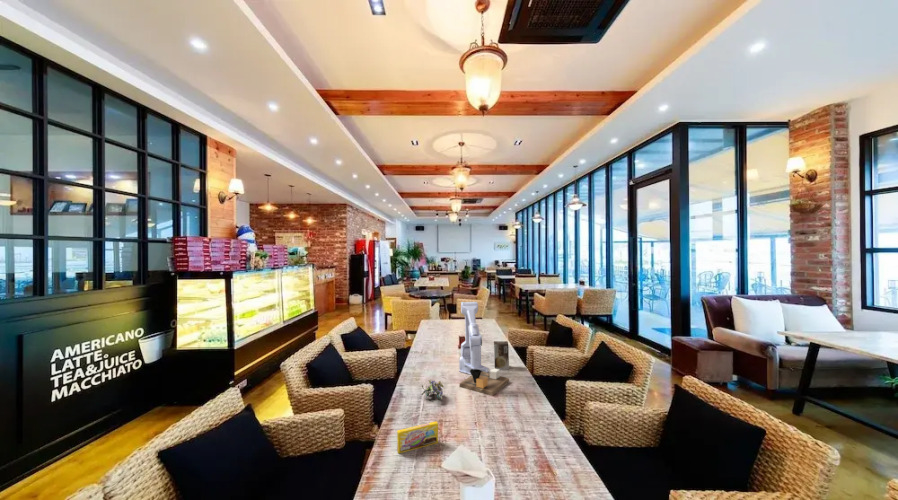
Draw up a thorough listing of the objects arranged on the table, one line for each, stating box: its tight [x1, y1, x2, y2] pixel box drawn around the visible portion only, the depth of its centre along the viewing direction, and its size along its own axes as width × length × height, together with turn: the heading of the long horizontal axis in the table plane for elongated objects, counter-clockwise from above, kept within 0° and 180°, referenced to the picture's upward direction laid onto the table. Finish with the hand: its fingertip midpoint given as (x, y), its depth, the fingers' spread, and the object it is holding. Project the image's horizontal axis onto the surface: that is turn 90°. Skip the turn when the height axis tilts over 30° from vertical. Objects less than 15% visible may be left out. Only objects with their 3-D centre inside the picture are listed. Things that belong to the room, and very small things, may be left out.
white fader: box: [489, 367, 501, 379], centre depth 186 cm, size 4×5×4 cm
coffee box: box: [493, 340, 510, 370], centre depth 207 cm, size 9×6×16 cm
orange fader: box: [476, 376, 488, 388], centre depth 175 cm, size 4×5×4 cm
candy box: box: [396, 421, 439, 455], centre depth 126 cm, size 16×2×8 cm, turn 114°
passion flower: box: [421, 379, 444, 401], centre depth 167 cm, size 11×11×12 cm
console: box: [459, 371, 510, 397], centre depth 182 cm, size 20×23×2 cm
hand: (476, 382), depth 177 cm, fingers closed
